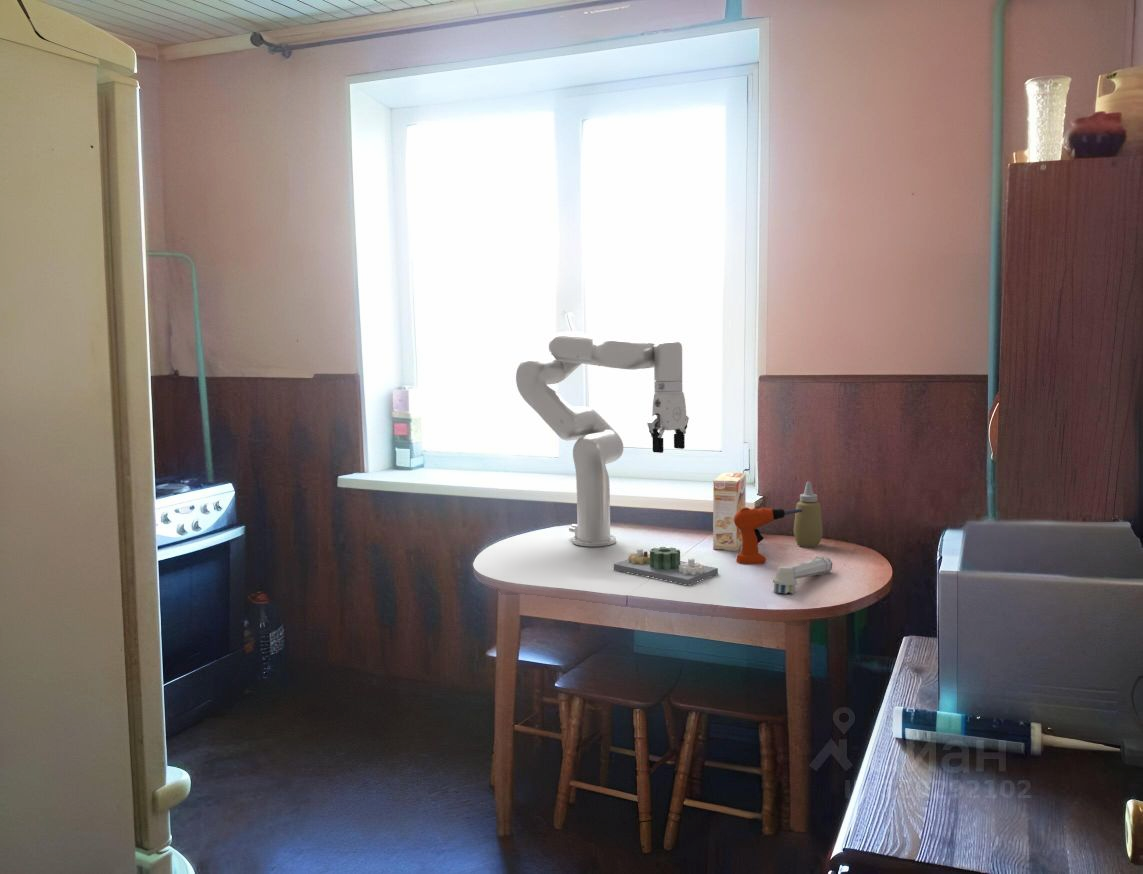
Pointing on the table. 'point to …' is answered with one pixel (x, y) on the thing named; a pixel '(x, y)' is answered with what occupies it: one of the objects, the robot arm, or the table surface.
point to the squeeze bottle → (808, 519)
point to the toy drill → (755, 531)
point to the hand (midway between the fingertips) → (668, 450)
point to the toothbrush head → (799, 573)
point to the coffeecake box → (728, 509)
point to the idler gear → (664, 558)
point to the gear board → (683, 574)
